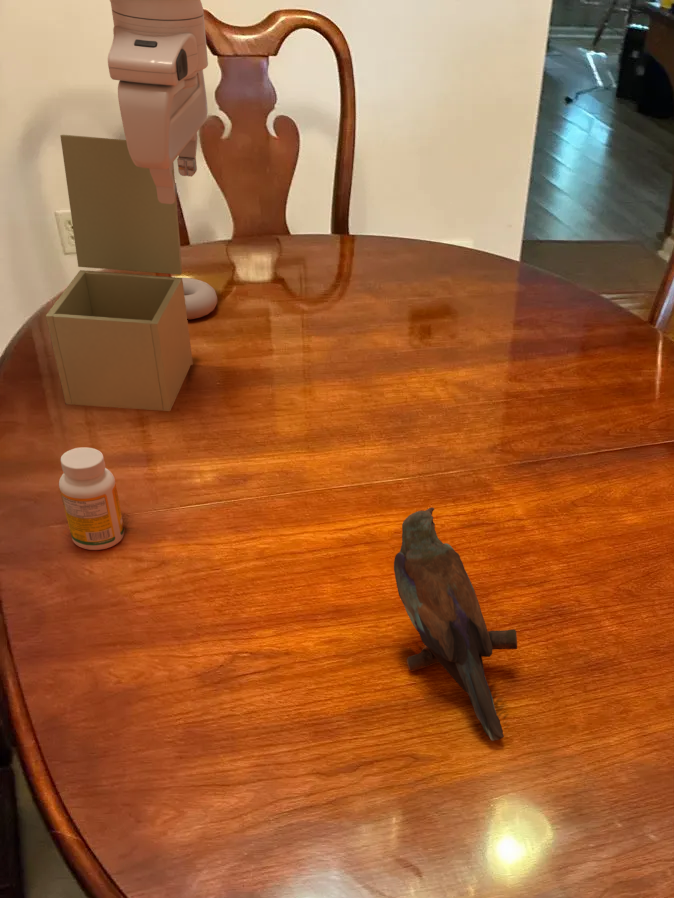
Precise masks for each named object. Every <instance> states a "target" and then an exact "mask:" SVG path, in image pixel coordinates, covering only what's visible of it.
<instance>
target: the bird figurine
mask: <svg viewBox="0 0 674 898" xmlns="http://www.w3.org/2000/svg"><path fill="white" fill-rule="evenodd" d="M434 511H435V507H429V508H427V509H426V510H418V511H415V512H413V513H410V514H409V515H408V516H407V517H406V518H405V519H404V520H403V522H402V523H401V524H402V525H401V531H402V533H401V546H400V550H399V552H397V553H396V554H395V555H394V559H393V571H394V578H395V583H396V589H397V593H398V596H399V598H400V600H401V603H402V604H403V606H404V609H405V611H406V614H407V616H408V618H409V620H410V621H411V624H412V625H413V627H414V628H415V630H416V631H417V633H418V634H419V637H420V639H421V642H422V643H423V645H424V646H423V648H422V649H421V651H420V652H418V653H416V654H413V655H410V656H408V657H406V664H407V667H408V669H409V671H410V672H414V671H417V670H421V669H424V668H427V667H430V666H432V665H434V664H437V663H439V665H441V666H442V668H444V670H445V671H446V672H447V673H448V674H449V675H450V676H451V678H452V679H453V680H454V681H455V682H456V684H458V686H459V687H460V688H461V689H462V690H463V691H464V692H465V693H466V694H467V695H468V698H469V701H470V703H471V705H472V707H473V712H474V714H475V717H476V718H477V720H478V721H479V722H480V724H481V726H482V729H483V731H484V733H485V734H486V736H488V737H489V739H490V741H492V742H494V741H500V740H501V739H503V738H504V737H505V735H504V731H503V727H502V724H501V720H500V718H499V716H498V714H497V711H496V707H495V704H494V703H495V702H494V698H493V695H492V692H491V689H490V687H489V686H490V685H489V683H488V681H487V678H486V674H485V668H484V663H483V662H484V661H483V657H484V658H490V657H491V656H492V655H493V651H494V650H498V651H499V650H500V651H501V650H517V649H518V635H517V630H516V629H505V630H488V627H487V624H486V621H485V617H484V615H483V612H482V608H481V605H480V602H479V599H478V596H477V594H476V591H475V588H474V586H473V583H472V581H471V579H470V577H469V575H468V572H467V571H466V569H465V566H464V563H463V561H462V559H461V556H460V554H459V553H458V552H457V551H456V550H455V549H454V548H453V547H452V545H451V544H449V543H448V542H447V543H446V542H445V543H444V542H443V541H442V540H441V539H439V537H438V534H437V531H436V527H435V526H436V523H435V521H434V516H433V512H434Z"/></svg>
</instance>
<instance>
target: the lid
mask: <svg viewBox="0 0 674 898" xmlns="http://www.w3.org/2000/svg"><path fill="white" fill-rule="evenodd" d="M60 143H61V150H62V158H63V166H64V173H65V181H66V186H67V187H66V189H67V194H68V195H67V196H68V202H69V209H70V215H71V216H70V217H71V223H72V232H73V238H74V245H75V253H76V261H77V267H78V268H89V269H100V270H101V269H103V270H115V271H116V270H117V271H128V272H142V273H156V274H165V275H166V274H167V275H182V274H183V265H182V252H181V251H182V250H181V249H182V248H181V239H180V238H181V237H180V226H179V225H180V224H179V213H178V203H177V200H178V199H176V200H175V202H174V203H173V204H164V203H161V202H159V200H158V197H157V189H156V185H155V183H154V181H153V178H152V176H151V173H150V170H149V168H142V167H137V166H136V165H135V164H134V162H133V160H132V158H131V156H130V154H129V151H128V147H127V142H126V139H121V138H120V139H118V138H107V137H96V136H84V135H71V134H60ZM172 164H173V170H172V175H173V180H174V183H176V178H175V166H174V162H173V163H172Z"/></svg>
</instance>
